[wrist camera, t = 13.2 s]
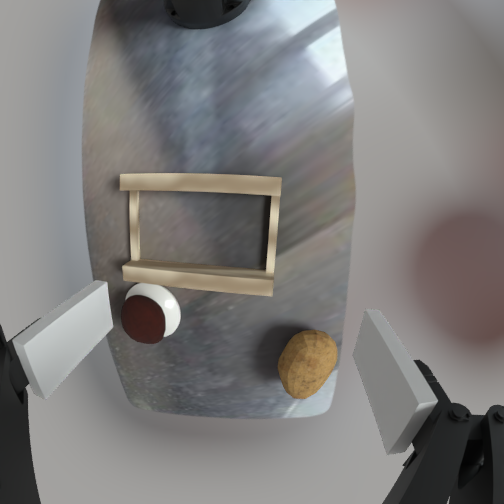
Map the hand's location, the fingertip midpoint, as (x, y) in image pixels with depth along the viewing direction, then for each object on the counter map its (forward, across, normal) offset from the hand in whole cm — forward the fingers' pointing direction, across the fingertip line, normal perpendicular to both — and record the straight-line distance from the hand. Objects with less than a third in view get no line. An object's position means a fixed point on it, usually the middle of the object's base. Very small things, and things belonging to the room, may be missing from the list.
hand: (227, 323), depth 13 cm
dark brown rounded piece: (+30, -18, -17) cm, 39 cm away
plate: (+31, -18, -18) cm, 40 cm away
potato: (+31, +10, -23) cm, 40 cm away
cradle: (+31, -9, -2) cm, 33 cm away
